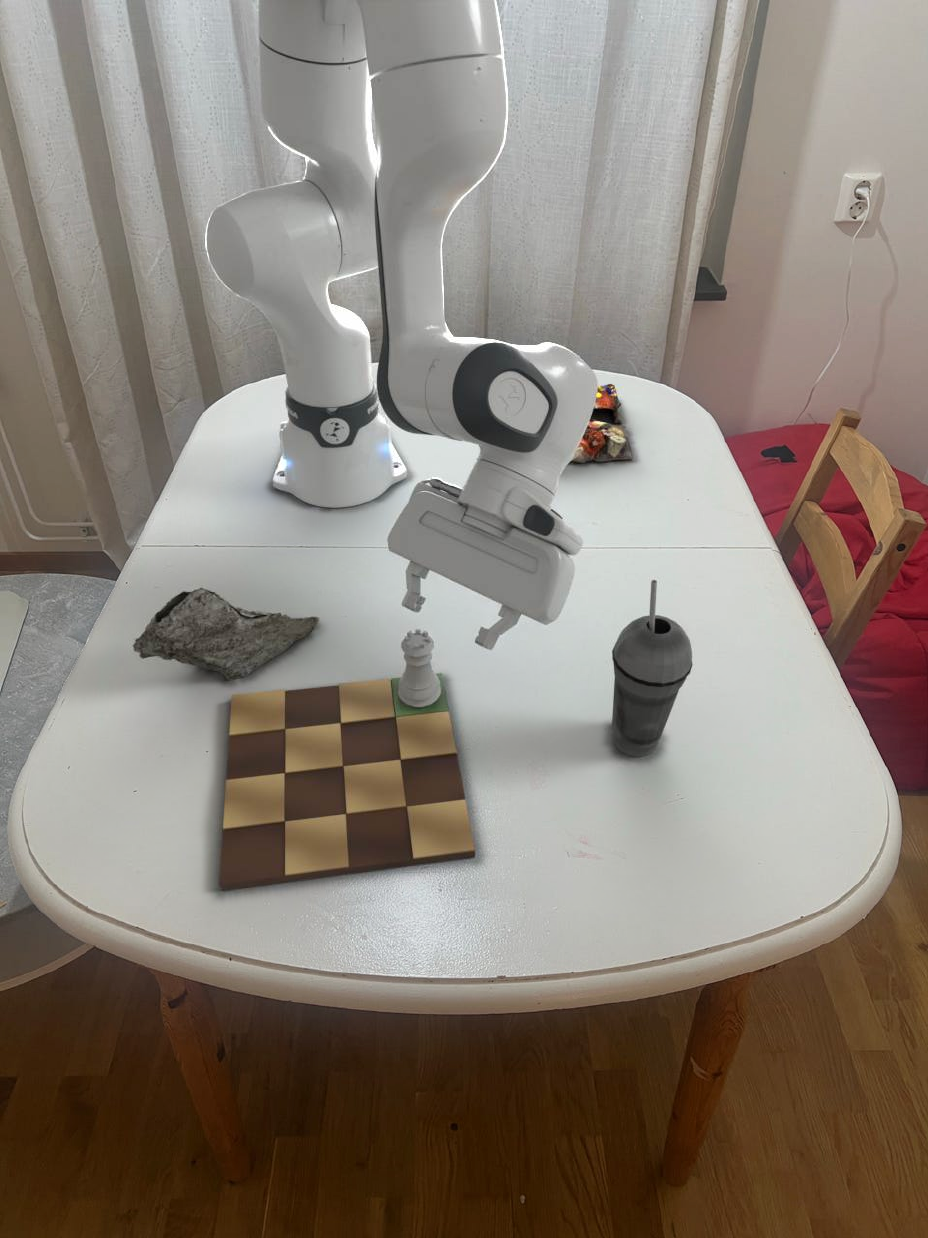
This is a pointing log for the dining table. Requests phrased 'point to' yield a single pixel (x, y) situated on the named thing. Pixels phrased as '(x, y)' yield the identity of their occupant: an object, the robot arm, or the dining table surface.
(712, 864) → the dining table surface
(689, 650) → the beverage cup
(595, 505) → the dining table surface
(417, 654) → the rook chess piece
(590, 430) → the food
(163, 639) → the concrete fragment
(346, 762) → the board
